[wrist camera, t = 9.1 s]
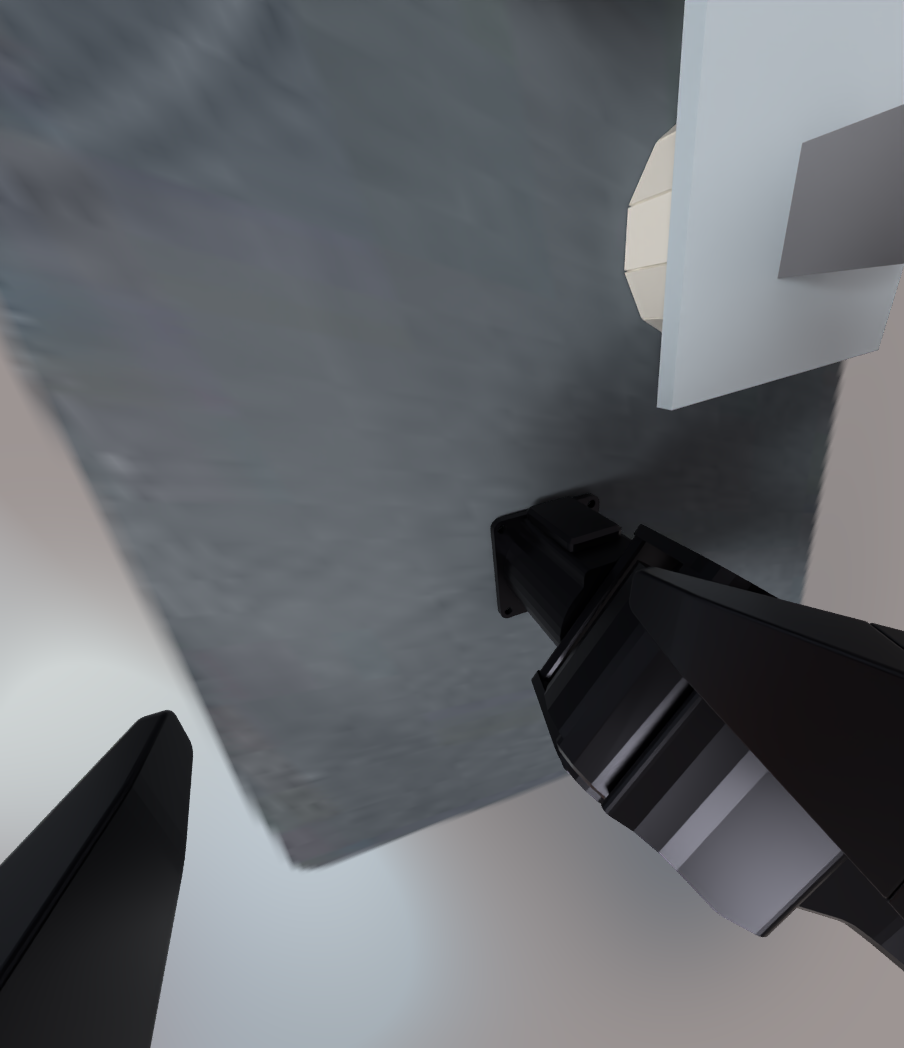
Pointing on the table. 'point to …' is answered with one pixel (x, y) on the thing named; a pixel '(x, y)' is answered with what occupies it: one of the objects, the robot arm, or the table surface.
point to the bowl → (651, 232)
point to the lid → (782, 191)
